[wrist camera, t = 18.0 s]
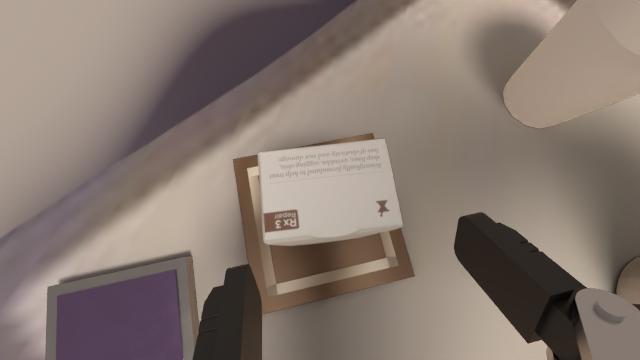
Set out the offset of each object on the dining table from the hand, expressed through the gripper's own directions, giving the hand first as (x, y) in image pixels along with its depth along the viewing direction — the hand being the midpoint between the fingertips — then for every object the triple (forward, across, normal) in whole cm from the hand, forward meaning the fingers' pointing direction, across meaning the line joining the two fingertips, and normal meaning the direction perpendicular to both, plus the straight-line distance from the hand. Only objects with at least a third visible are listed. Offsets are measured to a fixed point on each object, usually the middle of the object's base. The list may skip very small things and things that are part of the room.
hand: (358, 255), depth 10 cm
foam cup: (+17, -24, +2) cm, 29 cm away
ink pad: (+7, +16, +11) cm, 21 cm away
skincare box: (+11, 0, +7) cm, 13 cm away
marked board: (+12, 0, +7) cm, 14 cm away
